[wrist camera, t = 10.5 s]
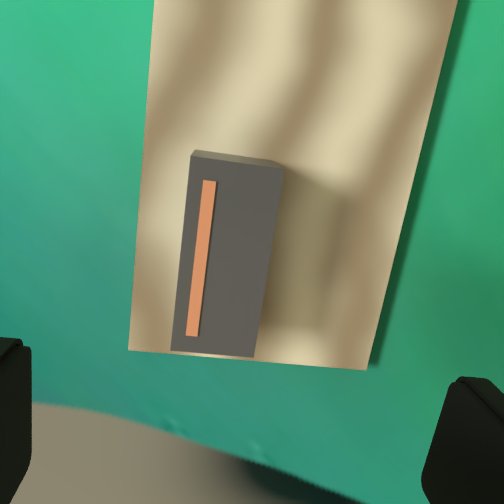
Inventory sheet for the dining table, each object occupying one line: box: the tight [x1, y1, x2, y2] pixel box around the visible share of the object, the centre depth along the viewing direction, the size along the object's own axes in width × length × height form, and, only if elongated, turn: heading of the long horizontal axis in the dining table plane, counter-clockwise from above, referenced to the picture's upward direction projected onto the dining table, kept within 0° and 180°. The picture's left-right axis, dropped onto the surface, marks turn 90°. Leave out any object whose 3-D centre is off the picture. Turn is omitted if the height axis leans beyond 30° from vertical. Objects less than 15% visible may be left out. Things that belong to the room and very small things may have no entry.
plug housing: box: [170, 149, 285, 358], centre depth 24 cm, size 4×10×5 cm, turn 172°
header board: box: [128, 0, 458, 370], centre depth 24 cm, size 16×24×5 cm, turn 172°
